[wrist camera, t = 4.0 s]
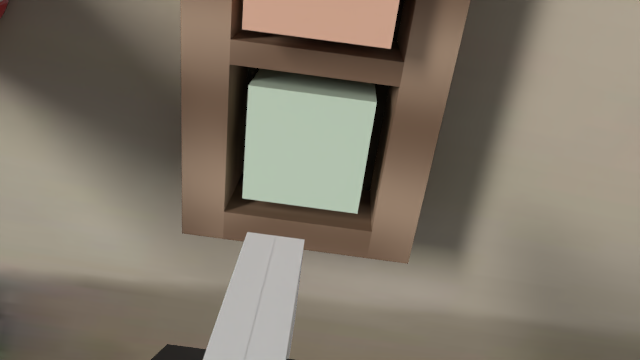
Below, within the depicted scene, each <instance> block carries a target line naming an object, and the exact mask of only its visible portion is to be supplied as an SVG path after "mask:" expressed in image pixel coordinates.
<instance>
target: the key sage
mask: <svg viewBox="0 0 640 360" xmlns="http://www.w3.org/2000/svg"><path fill="white" fill-rule="evenodd" d="M376 104H377V99H376V91H375V84H374V83H367V82H359V81H351V80H344V79H336V78H329V77H321V76H314V75H306V74H298V73H291V72H283V71H276V70H268V69H261V68H260V70H259V71H258V72H257V74H256V75H255V77H254V78H253V79H252V81H251V82H250V84H249V85H248V101H247V119H246V138H245V156H244V175H243V193H242V198H243V199H251V200H258V201H266V202H273V203H281V204H288V205H295V206H303V207H310V208H318V209H325V210H333V211H340V212H348V213H355V214H358V208H359V202H360V197H361V191H362V185H363V179H364V174H365V168H366V162H367V156H368V150H369V145H370V139H371V133H372V127H373V122H374V116H375V110H376Z"/></svg>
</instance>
